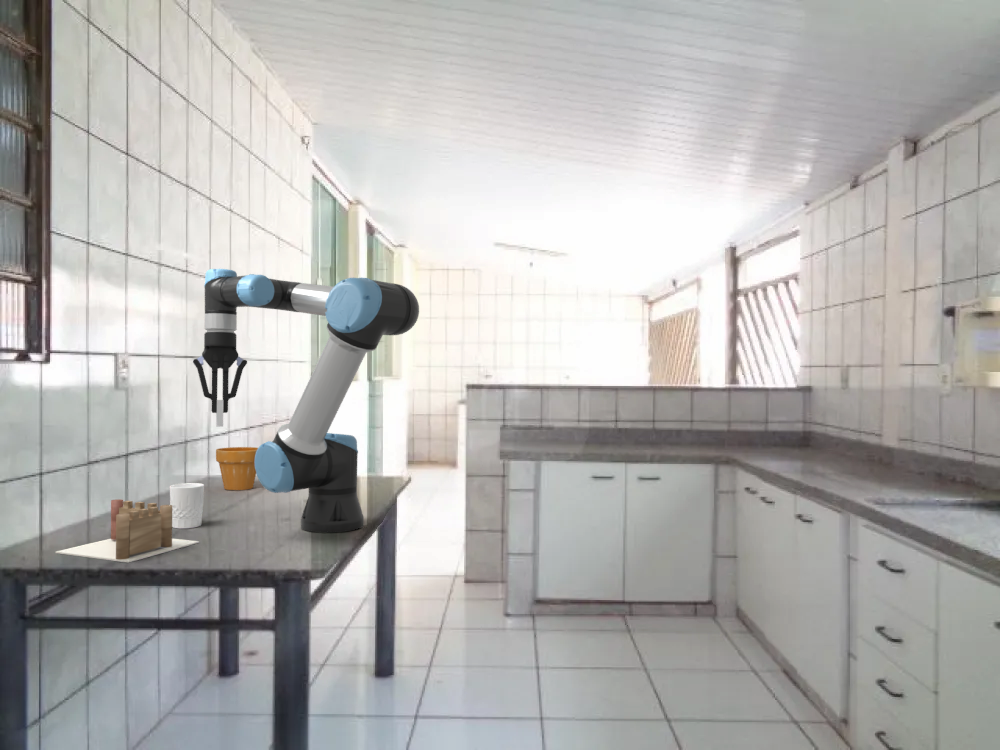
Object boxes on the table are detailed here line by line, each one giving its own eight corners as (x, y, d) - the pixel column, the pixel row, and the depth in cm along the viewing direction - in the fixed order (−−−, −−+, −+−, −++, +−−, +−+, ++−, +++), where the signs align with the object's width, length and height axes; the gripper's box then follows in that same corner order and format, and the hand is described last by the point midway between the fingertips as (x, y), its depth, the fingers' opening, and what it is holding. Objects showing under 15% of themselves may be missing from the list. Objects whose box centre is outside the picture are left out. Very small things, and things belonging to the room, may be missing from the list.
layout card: (199, 542, 164) (199, 540, 164) (128, 562, 147) (128, 560, 147) (130, 535, 171) (130, 533, 171) (55, 553, 154) (55, 551, 154)
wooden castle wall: (174, 547, 160) (174, 504, 160) (121, 561, 147) (122, 515, 147) (165, 546, 161) (166, 503, 161) (112, 560, 148) (113, 514, 148)
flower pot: (228, 484, 251) (228, 446, 251) (268, 486, 249) (268, 447, 249) (207, 491, 237) (207, 450, 237) (250, 492, 235) (250, 451, 235)
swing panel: (117, 537, 166) (117, 499, 166) (163, 542, 161) (163, 503, 161) (108, 539, 164) (108, 500, 164) (154, 544, 159) (154, 505, 159)
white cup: (191, 530, 178) (191, 488, 178) (161, 528, 179) (162, 487, 179) (210, 523, 186) (210, 483, 186) (182, 522, 187) (182, 482, 187)
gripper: (246, 333, 192) (245, 424, 192) (191, 331, 186) (190, 425, 186) (249, 331, 185) (248, 426, 185) (192, 330, 180) (191, 427, 179)
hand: (219, 426), depth 186 cm, fingers closed
